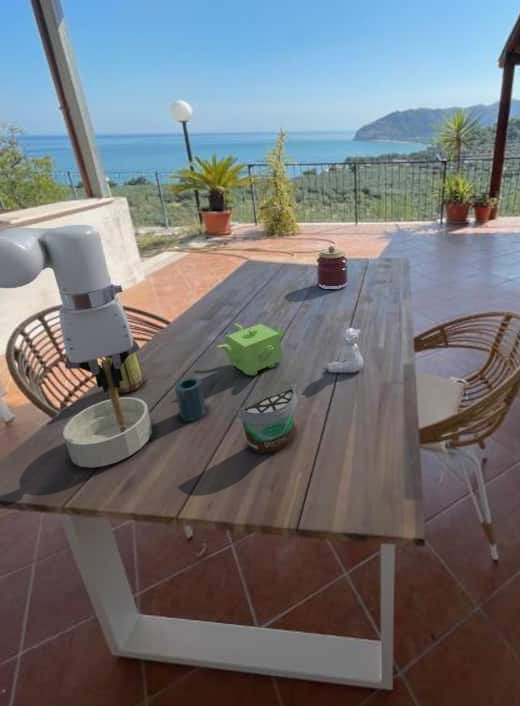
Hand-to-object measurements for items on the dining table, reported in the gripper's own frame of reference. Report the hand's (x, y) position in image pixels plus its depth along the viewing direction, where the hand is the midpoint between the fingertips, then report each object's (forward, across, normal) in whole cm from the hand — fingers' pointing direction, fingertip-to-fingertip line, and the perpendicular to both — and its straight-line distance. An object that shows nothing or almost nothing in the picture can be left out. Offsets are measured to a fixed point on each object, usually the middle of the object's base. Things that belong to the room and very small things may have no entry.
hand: (111, 386), depth 74 cm
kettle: (+14, -32, -14) cm, 38 cm away
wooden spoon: (+12, 0, 0) cm, 12 cm away
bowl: (+14, +2, -2) cm, 14 cm away
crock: (+14, -14, -2) cm, 19 cm away
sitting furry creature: (+14, -53, +2) cm, 55 cm away
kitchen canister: (+14, -85, -57) cm, 103 cm away
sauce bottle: (+14, -3, -22) cm, 27 cm away
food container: (+14, -25, +18) cm, 34 cm away
